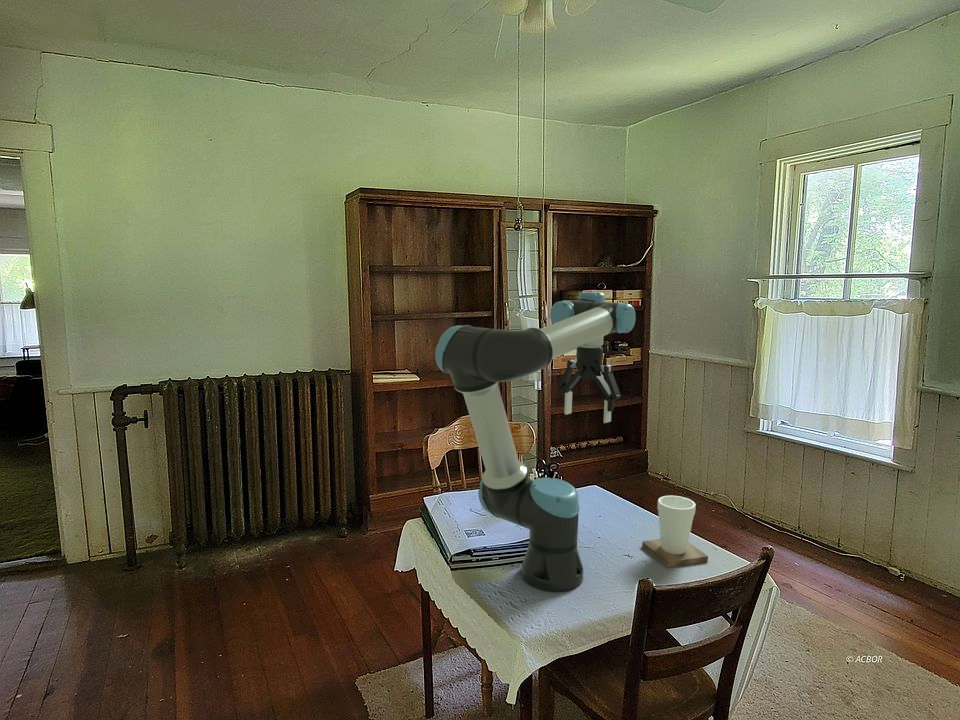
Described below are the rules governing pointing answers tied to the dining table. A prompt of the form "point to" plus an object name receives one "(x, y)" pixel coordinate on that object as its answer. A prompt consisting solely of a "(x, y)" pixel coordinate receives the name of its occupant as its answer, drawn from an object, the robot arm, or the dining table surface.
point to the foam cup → (675, 522)
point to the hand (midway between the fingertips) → (587, 417)
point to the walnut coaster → (674, 560)
